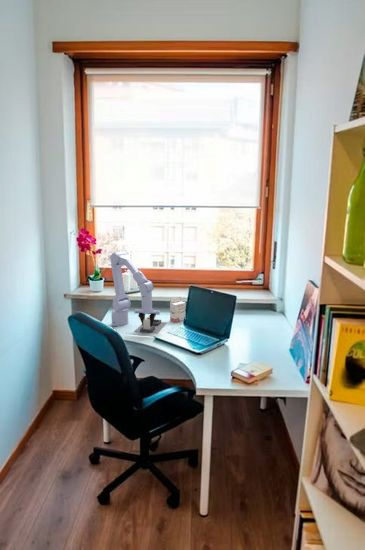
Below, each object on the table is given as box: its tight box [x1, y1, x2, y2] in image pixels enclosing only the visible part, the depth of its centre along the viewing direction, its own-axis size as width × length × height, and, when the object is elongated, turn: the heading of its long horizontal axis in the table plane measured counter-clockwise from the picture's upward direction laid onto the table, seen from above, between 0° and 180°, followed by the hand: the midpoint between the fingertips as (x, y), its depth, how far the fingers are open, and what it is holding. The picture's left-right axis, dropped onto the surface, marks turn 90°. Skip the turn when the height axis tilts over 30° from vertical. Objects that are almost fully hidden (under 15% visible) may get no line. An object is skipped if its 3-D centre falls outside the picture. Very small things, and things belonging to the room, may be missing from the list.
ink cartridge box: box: [169, 296, 186, 323], centre depth 248 cm, size 9×5×15 cm, turn 130°
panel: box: [133, 318, 168, 335], centre depth 237 cm, size 14×20×2 cm
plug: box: [143, 316, 152, 330], centre depth 231 cm, size 4×4×7 cm
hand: (147, 326), depth 231 cm, fingers closed on plug, 4 cm apart
